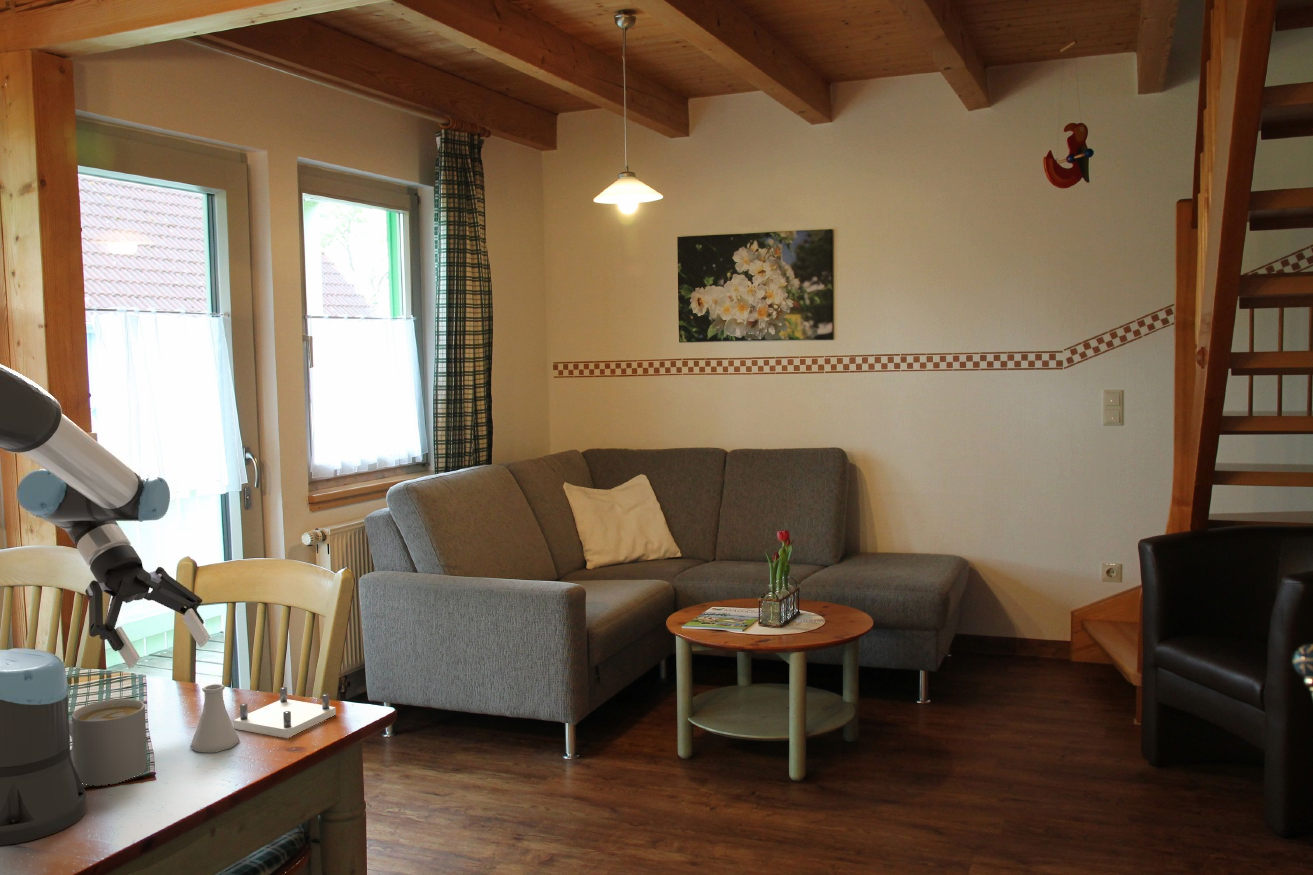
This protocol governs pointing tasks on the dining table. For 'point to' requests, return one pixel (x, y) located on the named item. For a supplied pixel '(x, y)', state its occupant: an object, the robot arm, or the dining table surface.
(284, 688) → the pegs
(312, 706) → the plate
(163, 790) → the dining table surface
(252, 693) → the dining table surface
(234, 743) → the flask
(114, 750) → the coffee mug
